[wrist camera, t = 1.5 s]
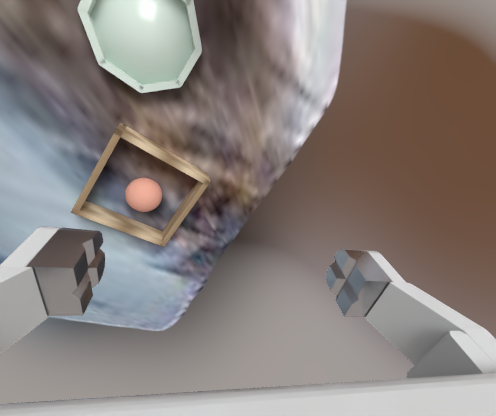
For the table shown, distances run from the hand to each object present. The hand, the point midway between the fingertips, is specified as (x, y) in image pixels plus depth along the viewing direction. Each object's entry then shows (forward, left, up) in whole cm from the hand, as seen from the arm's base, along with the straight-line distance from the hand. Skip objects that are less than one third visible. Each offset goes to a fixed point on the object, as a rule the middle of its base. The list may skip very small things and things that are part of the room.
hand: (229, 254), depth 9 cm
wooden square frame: (+1, -13, -31) cm, 34 cm away
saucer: (-8, +5, -31) cm, 32 cm away
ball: (+1, -13, -28) cm, 31 cm away
